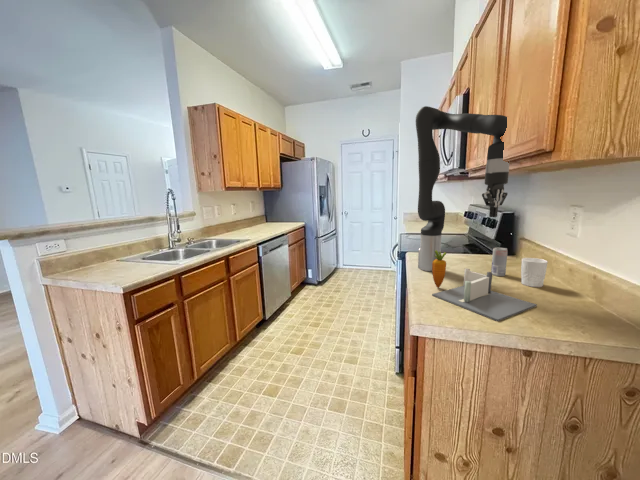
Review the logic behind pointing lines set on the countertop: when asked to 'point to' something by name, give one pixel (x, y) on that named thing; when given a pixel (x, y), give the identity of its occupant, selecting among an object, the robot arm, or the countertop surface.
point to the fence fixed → (477, 277)
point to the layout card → (487, 303)
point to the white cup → (533, 271)
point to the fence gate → (476, 288)
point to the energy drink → (499, 261)
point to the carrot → (438, 269)
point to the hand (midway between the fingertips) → (493, 216)
